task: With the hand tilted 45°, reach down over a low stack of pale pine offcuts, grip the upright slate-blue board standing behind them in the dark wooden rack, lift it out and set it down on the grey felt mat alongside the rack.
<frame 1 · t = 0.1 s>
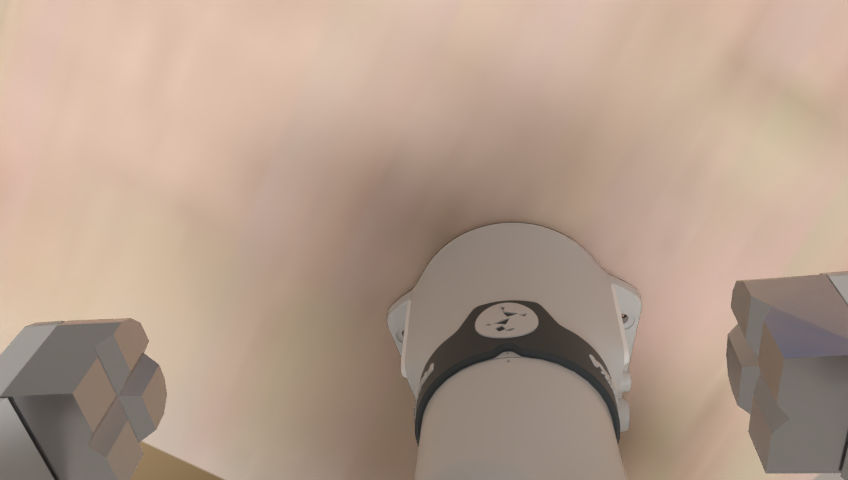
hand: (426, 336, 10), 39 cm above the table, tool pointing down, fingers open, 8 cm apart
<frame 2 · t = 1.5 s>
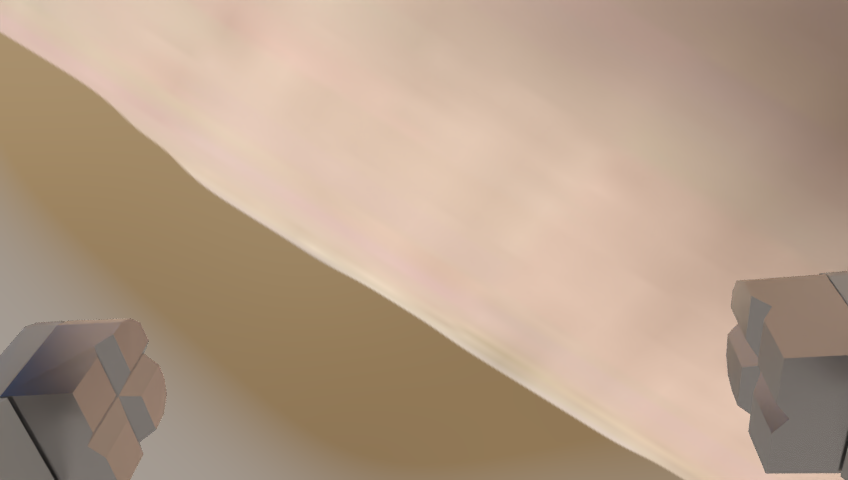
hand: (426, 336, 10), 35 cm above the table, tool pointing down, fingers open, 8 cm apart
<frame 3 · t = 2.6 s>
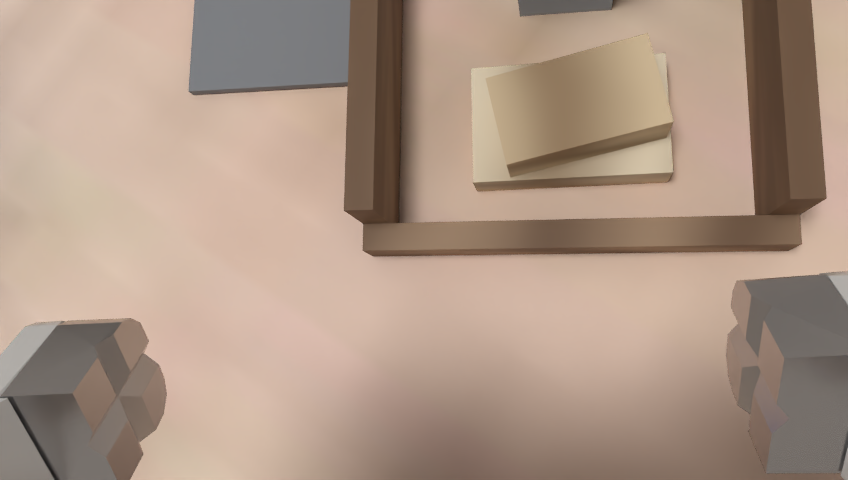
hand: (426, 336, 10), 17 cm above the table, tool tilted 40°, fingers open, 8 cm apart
offcut lower: (567, 135, 28), on the table, touching offcut upper
offcut upper: (576, 116, 26), point 1 cm above the table, touching offcut lower
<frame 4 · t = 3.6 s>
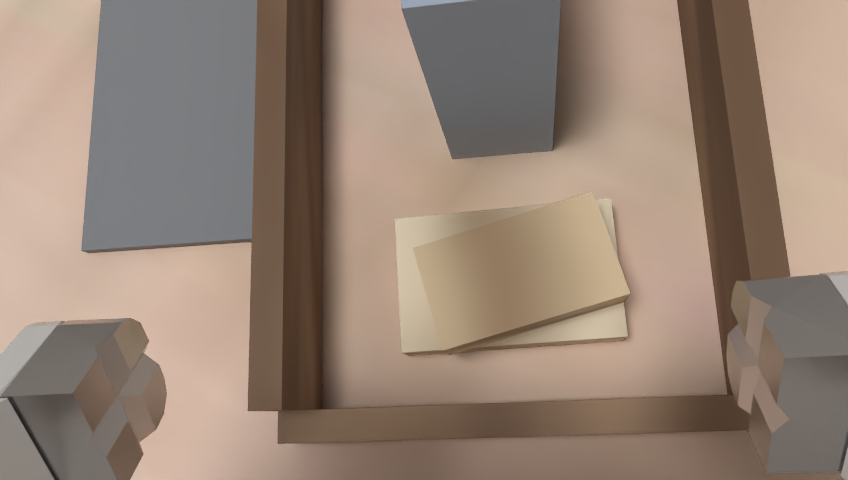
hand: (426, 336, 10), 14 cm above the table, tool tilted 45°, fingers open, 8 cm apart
board: (496, 63, 26), on the table
rack: (499, 114, 26), on the table
offcut lower: (508, 285, 25), on the table, touching offcut upper
mat: (183, 94, 28), on the table
offcut upper: (519, 280, 23), point 1 cm above the table, touching offcut lower
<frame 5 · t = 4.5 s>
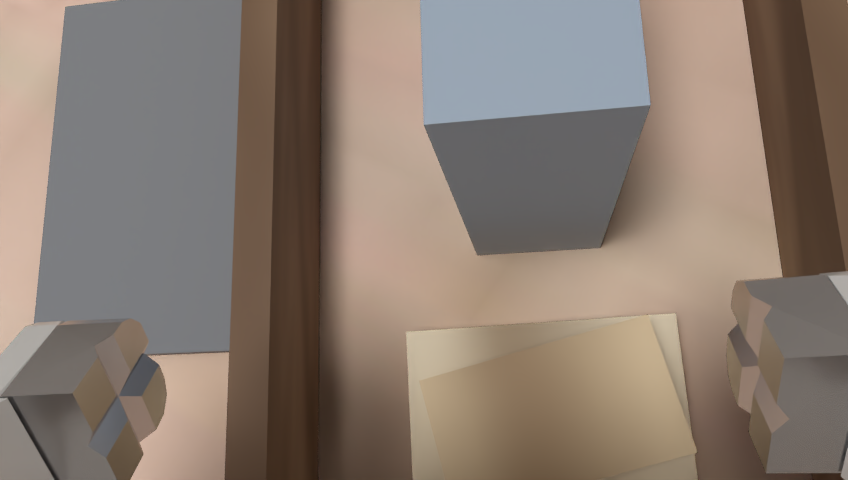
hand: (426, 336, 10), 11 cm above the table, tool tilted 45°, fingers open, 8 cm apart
board: (530, 137, 22), on the table
rack: (534, 201, 21), on the table
offcut lower: (544, 409, 20), on the table, touching offcut upper
mat: (155, 168, 23), on the table
offcut upper: (551, 415, 18), point 1 cm above the table, touching offcut lower
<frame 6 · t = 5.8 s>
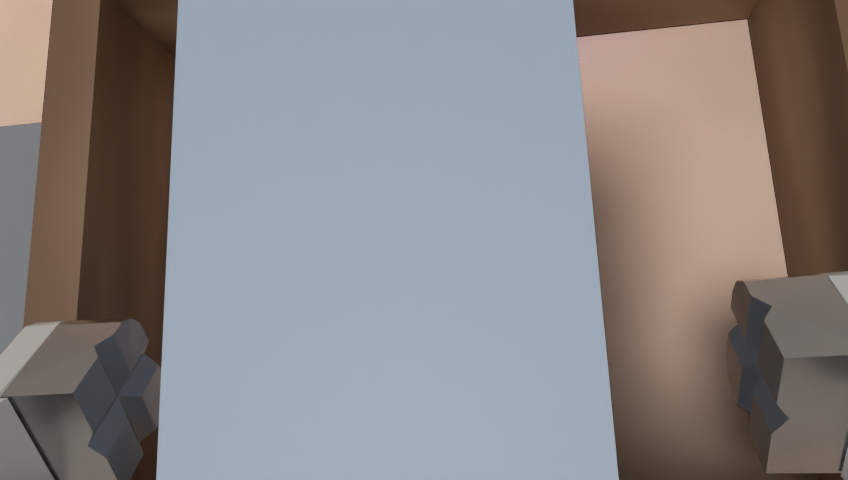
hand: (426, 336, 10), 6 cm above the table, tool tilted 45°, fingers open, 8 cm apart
board: (473, 350, 15), on the table
rack: (478, 447, 15), on the table
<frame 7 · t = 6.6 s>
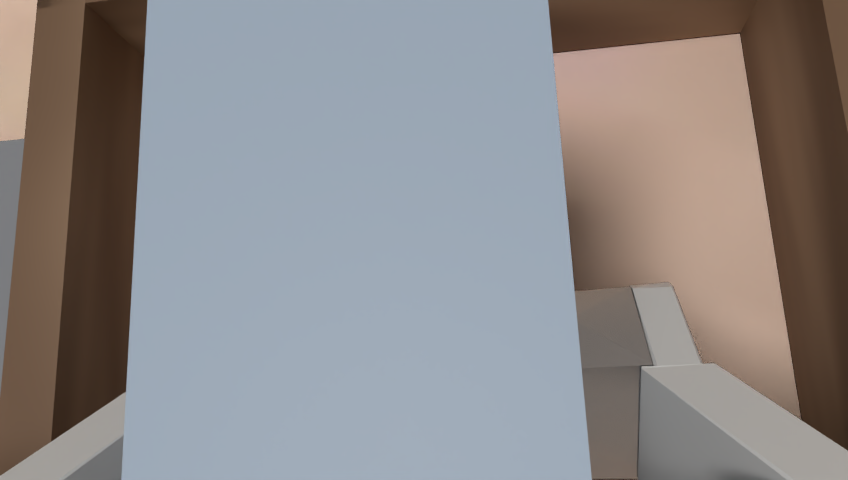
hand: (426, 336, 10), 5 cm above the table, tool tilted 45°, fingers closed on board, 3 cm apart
board: (463, 369, 15), on the table, touching gripper
rack: (468, 469, 15), on the table
when the fingers open (7 cm above the table, at t = 13.3 s): board drops 1 cm, resting on mat.
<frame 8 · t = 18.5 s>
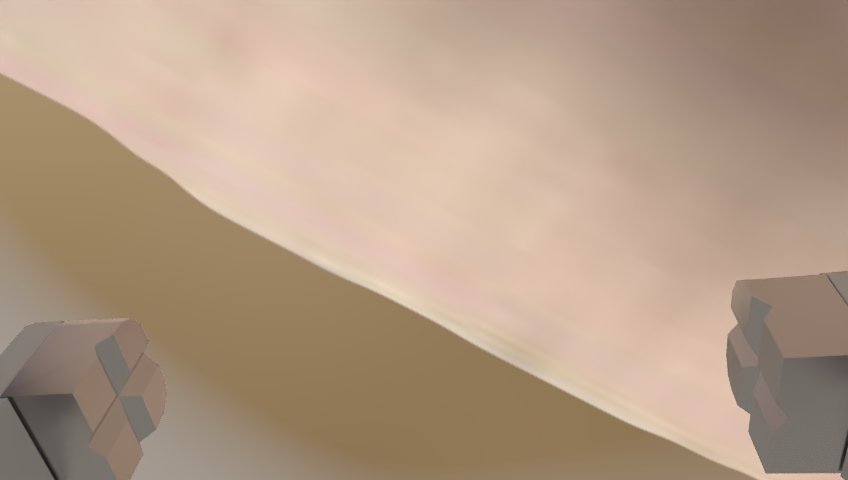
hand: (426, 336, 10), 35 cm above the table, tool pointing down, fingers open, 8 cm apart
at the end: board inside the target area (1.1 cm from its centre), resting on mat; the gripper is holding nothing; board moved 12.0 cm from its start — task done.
